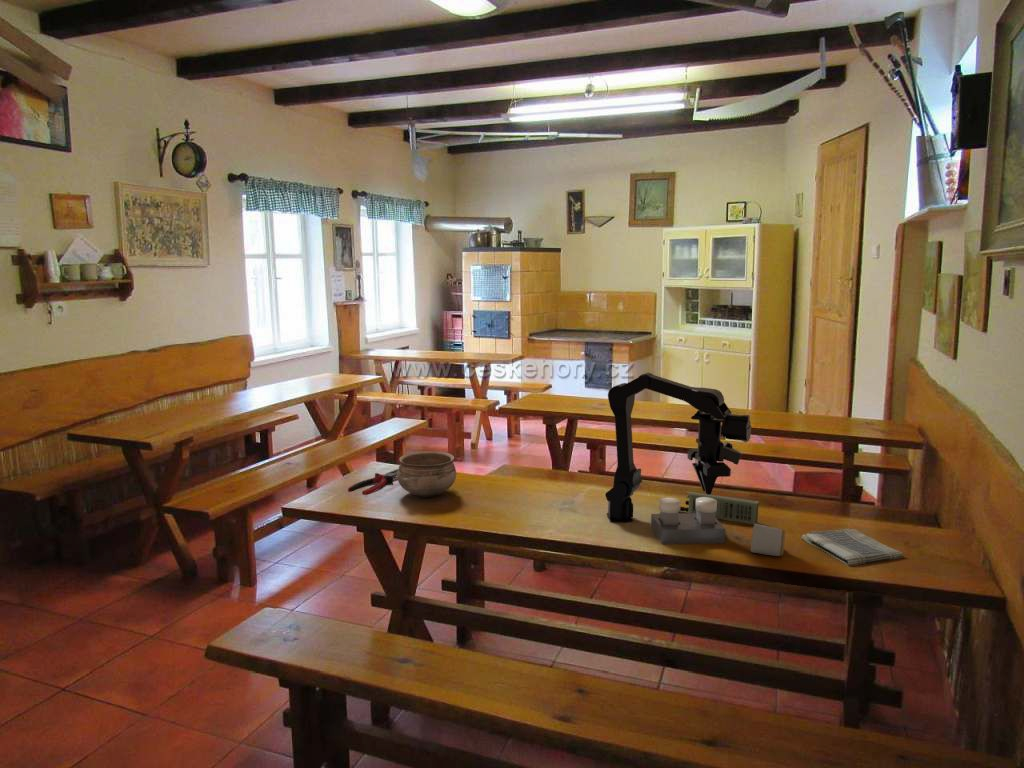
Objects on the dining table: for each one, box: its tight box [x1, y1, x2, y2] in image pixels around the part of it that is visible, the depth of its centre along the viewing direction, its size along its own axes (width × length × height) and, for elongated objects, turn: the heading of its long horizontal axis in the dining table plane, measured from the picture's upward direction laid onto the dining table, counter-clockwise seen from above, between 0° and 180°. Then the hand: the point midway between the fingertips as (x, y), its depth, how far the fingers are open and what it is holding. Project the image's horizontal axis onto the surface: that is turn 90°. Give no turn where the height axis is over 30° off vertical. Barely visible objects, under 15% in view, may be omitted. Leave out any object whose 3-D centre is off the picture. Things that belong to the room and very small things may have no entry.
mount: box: [650, 512, 726, 545], centre depth 190 cm, size 17×12×4 cm
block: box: [750, 523, 786, 557], centre depth 179 cm, size 10×8×7 cm
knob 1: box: [658, 497, 682, 525], centre depth 189 cm, size 6×6×6 cm
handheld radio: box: [680, 491, 760, 525], centre depth 204 cm, size 7×3×25 cm
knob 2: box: [695, 497, 717, 524], centre depth 189 cm, size 6×6×6 cm
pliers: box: [347, 468, 399, 495], centre depth 236 cm, size 3×9×22 cm
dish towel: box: [801, 528, 905, 567], centre depth 181 cm, size 19×18×3 cm
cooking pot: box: [396, 450, 457, 499], centre depth 224 cm, size 25×19×12 cm
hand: (706, 492), depth 188 cm, fingers open, 3 cm apart
